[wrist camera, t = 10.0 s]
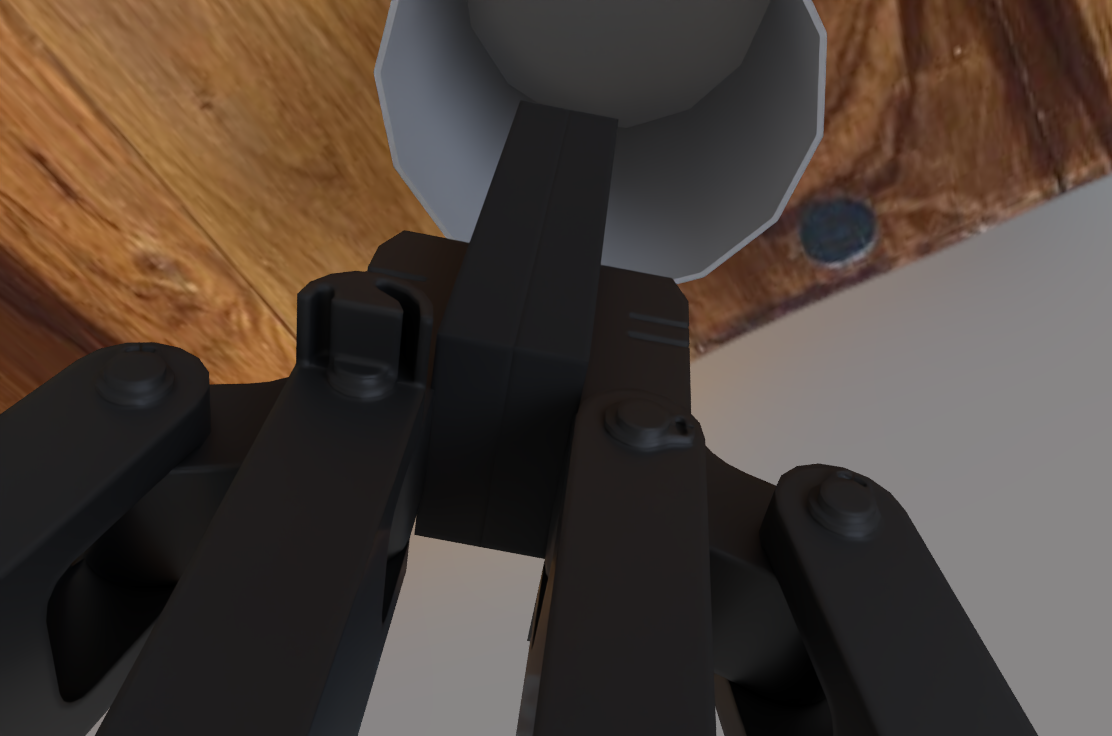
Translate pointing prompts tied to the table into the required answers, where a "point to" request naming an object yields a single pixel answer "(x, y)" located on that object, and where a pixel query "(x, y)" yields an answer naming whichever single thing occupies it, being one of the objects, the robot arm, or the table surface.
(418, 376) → the robot arm
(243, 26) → the table surface
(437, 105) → the cup
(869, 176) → the table surface
